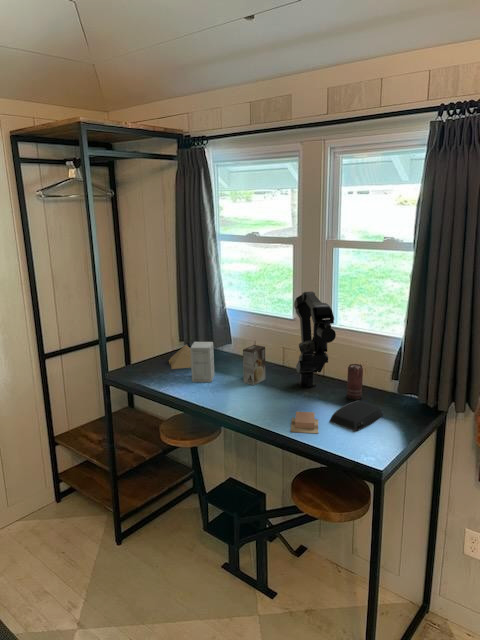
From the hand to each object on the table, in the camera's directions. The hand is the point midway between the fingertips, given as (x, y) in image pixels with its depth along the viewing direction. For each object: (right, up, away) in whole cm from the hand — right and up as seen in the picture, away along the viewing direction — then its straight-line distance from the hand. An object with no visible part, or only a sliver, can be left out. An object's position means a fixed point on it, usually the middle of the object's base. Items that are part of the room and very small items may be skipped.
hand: (319, 371), depth 201 cm
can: (+16, -12, +7) cm, 21 cm away
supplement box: (-50, -6, +30) cm, 58 cm away
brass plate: (-8, -18, -18) cm, 27 cm away
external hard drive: (+12, -17, -12) cm, 24 cm away
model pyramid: (-60, -1, +52) cm, 80 cm away
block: (-7, -15, -12) cm, 21 cm away
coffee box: (-26, -7, +26) cm, 37 cm away
